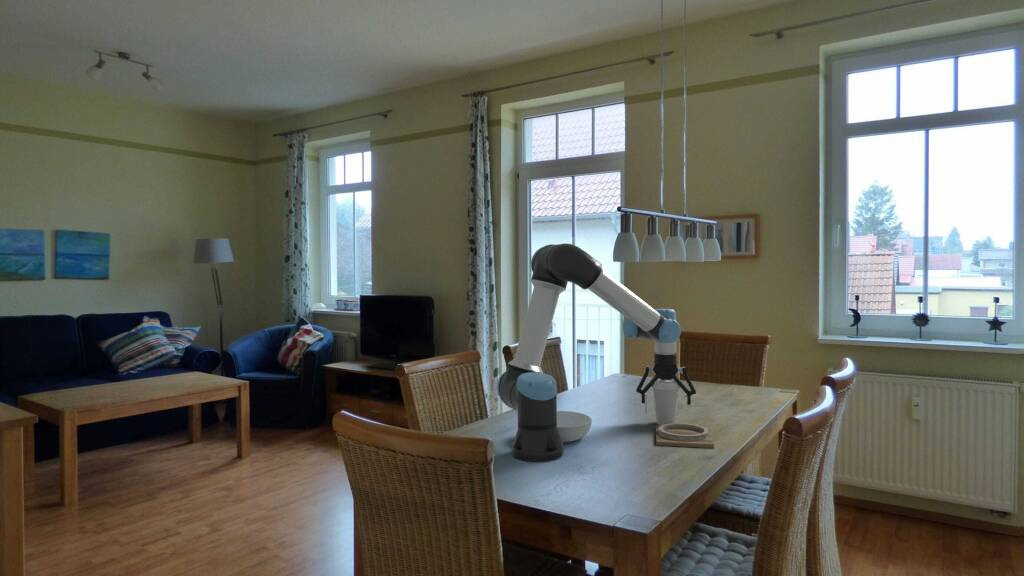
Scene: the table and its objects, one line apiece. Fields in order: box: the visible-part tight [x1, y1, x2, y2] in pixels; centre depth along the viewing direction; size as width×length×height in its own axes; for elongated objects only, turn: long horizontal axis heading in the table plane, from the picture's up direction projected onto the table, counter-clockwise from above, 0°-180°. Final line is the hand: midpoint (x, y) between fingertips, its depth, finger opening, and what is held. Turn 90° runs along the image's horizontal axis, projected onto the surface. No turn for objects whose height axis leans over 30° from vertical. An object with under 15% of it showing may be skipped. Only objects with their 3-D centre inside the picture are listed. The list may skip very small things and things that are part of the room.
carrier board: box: [655, 422, 715, 449], centre depth 195 cm, size 20×17×3 cm
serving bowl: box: [557, 410, 592, 443], centre depth 195 cm, size 21×21×7 cm
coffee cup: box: [651, 379, 681, 425], centre depth 212 cm, size 10×10×15 cm
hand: (666, 413), depth 212 cm, fingers open, 13 cm apart
